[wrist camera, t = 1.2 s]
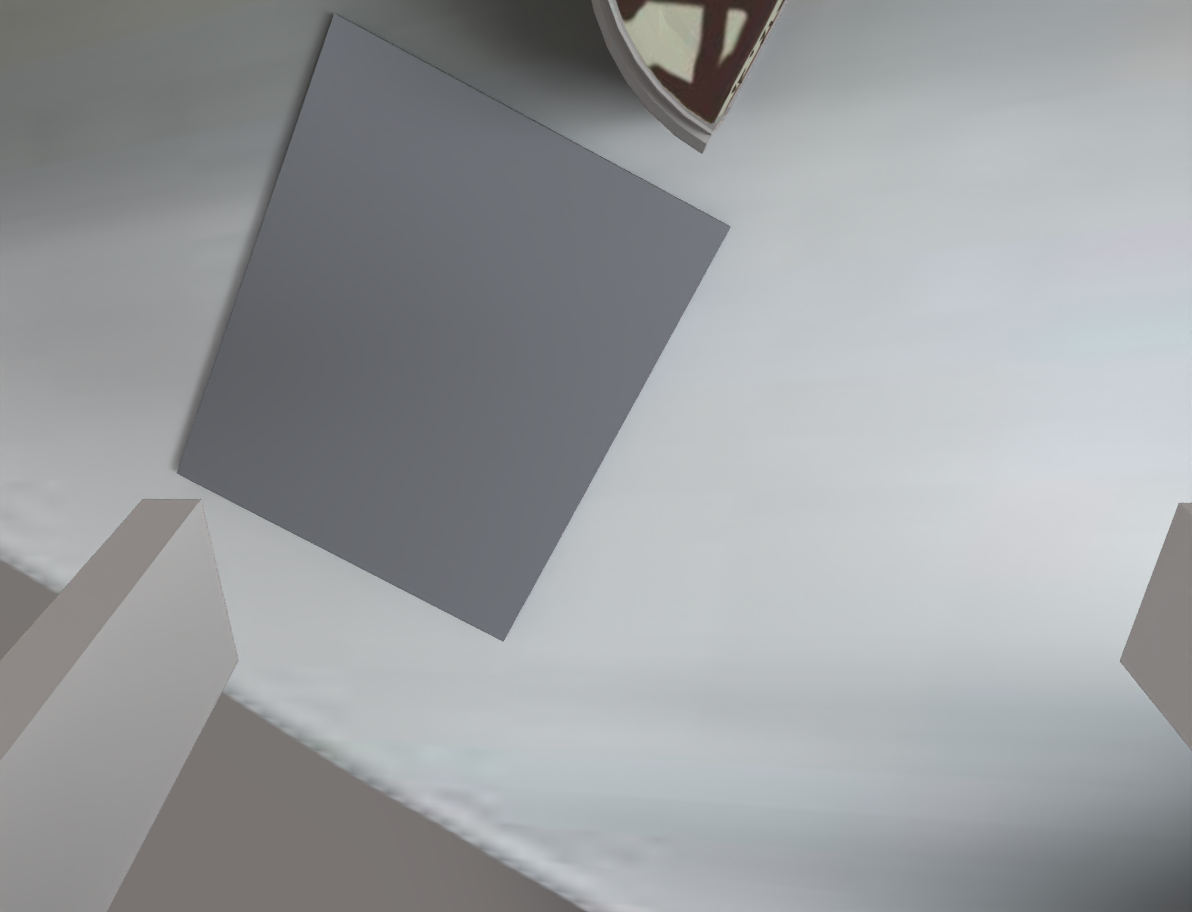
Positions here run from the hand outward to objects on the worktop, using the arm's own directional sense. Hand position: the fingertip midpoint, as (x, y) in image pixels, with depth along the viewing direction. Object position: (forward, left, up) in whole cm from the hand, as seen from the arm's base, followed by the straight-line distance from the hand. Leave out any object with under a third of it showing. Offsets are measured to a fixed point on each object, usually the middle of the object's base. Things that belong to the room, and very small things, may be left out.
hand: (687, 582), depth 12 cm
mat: (+9, +7, -22) cm, 25 cm away
